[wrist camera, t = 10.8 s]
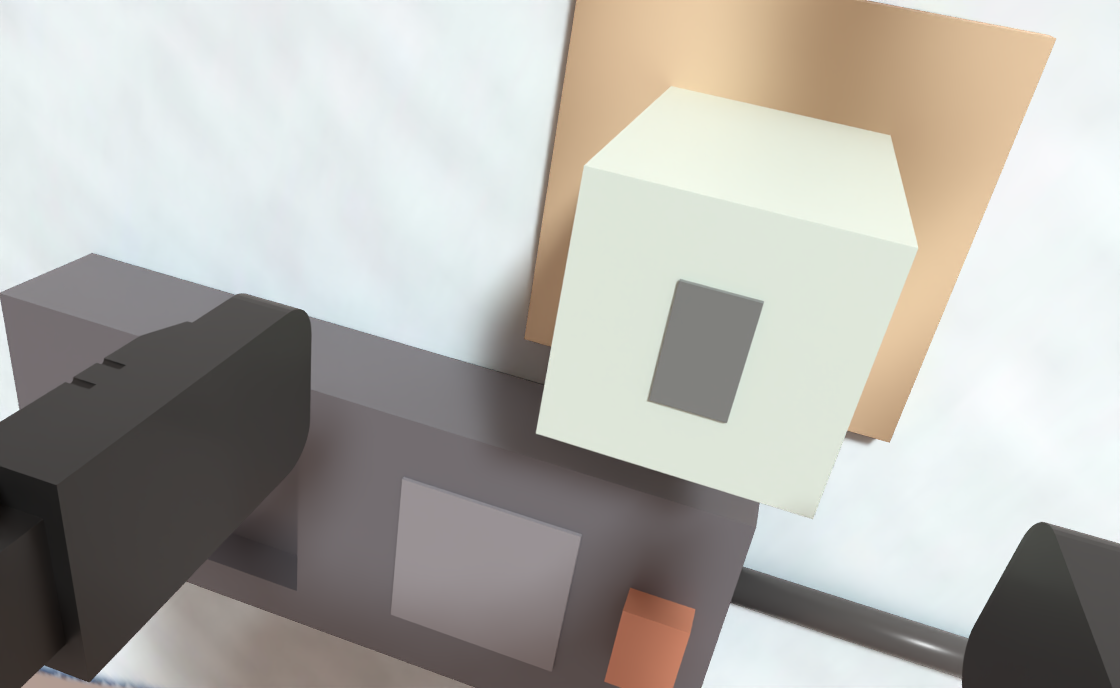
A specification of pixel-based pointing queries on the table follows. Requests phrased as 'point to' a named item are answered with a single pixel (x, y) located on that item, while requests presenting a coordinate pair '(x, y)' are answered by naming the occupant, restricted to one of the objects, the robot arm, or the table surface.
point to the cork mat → (818, 92)
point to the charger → (727, 295)
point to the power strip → (459, 513)
